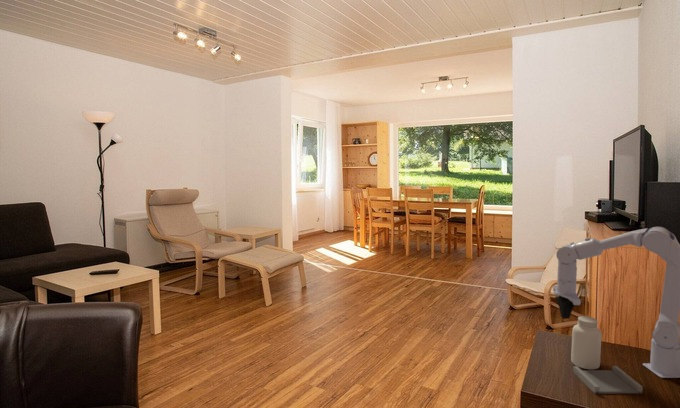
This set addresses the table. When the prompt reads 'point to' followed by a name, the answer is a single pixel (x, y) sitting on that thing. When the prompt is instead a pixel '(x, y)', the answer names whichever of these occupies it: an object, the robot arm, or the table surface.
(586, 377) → the grey tray
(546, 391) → the table surface
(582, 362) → the pill bottle
